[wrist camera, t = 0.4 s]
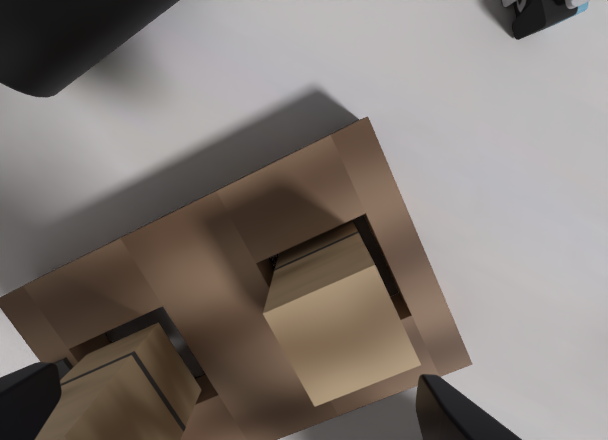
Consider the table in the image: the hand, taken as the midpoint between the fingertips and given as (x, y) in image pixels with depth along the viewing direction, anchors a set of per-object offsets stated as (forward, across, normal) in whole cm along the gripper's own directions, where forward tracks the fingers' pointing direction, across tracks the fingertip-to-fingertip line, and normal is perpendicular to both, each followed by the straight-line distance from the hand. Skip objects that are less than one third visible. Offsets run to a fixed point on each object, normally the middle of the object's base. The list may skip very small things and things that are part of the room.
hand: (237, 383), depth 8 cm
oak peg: (+11, +8, +8) cm, 16 cm away
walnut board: (+14, +3, +5) cm, 15 cm away
